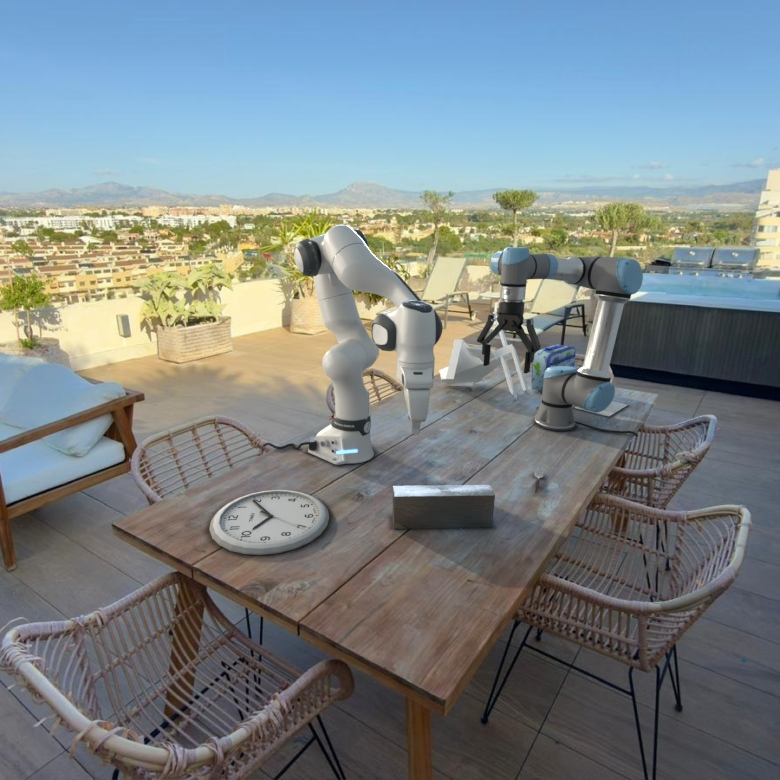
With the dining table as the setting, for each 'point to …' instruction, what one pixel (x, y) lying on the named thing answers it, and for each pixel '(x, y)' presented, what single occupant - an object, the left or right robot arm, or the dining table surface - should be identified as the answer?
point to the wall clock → (269, 522)
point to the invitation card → (609, 409)
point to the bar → (443, 506)
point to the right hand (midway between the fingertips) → (506, 368)
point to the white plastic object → (481, 364)
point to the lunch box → (550, 362)
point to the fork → (538, 475)
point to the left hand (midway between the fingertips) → (413, 426)
